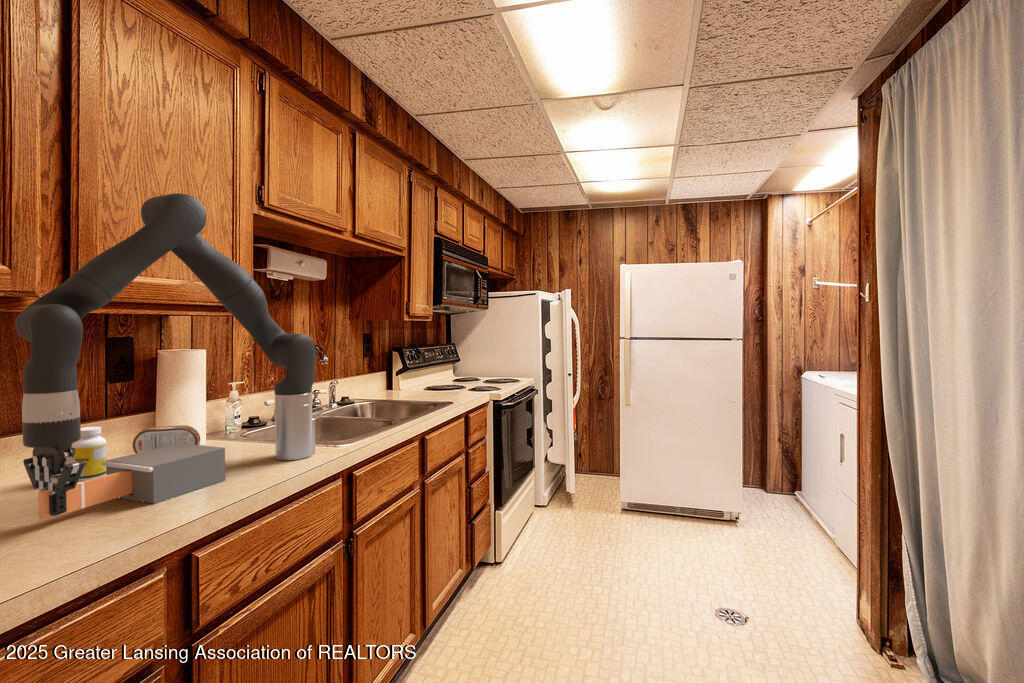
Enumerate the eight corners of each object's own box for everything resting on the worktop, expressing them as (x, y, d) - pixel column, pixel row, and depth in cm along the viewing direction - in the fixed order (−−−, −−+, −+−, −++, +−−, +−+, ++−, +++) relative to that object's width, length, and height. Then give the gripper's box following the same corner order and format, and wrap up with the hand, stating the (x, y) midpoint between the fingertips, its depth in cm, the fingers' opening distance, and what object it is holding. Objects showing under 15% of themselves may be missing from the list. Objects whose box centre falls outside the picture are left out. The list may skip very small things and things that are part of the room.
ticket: (145, 487, 103) (144, 465, 103) (149, 488, 103) (149, 465, 103) (38, 519, 86) (38, 492, 86) (43, 520, 86) (42, 493, 86)
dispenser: (181, 474, 117) (180, 443, 117) (225, 480, 112) (224, 447, 112) (101, 497, 101) (100, 461, 101) (148, 505, 96) (147, 467, 96)
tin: (200, 453, 137) (200, 423, 137) (198, 456, 134) (197, 425, 134) (135, 458, 132) (134, 427, 131) (131, 461, 129) (130, 429, 129)
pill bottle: (65, 479, 113) (63, 429, 113) (98, 472, 119) (97, 424, 119) (78, 483, 110) (77, 432, 110) (112, 476, 116) (111, 427, 116)
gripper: (101, 415, 89) (103, 510, 89) (53, 411, 93) (56, 502, 94) (50, 423, 82) (53, 526, 82) (1, 418, 86) (4, 516, 87)
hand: (54, 513), depth 88 cm, fingers closed
